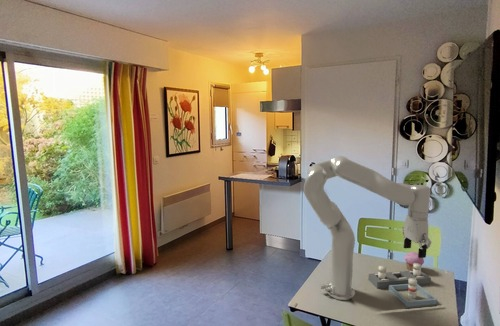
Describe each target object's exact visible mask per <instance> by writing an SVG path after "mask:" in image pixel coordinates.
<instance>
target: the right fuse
mask: <svg viewBox="0 0 500 326" xmlns="http://www.w3.org/2000/svg"><path fill="white" fill-rule="evenodd" d="M421 271H422V266H421V264H418V263H414V264H413V276H415V277H417V276H420V274H421Z"/></svg>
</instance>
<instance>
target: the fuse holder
mask: <svg viewBox="0 0 500 326" xmlns="http://www.w3.org/2000/svg"><path fill="white" fill-rule="evenodd" d="M367 276H368V280H367V281H369V282H370V283H371V285H373V286H374V287H375V288H376V289H385V288H388V289H389V285H400V284H408V280H409V278H413V279H416V280H417V284H418V285H419V286H423V285H431V281H432V280H431V279H432V278H431V277H430V276H429V275H427V274H426V273H424V272H423V271H422V270H421V274H420V276H417V277H415V276H413V271H411V270H402V271H390V272H387V271H386V278H385V279H381V280H380V279H379V278H378V272H377V273H368V275H367Z"/></svg>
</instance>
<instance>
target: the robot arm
mask: <svg viewBox="0 0 500 326" xmlns="http://www.w3.org/2000/svg"><path fill="white" fill-rule="evenodd" d="M335 177H338V178H341V179H342V180H345V181H347V182H349V183H352V184H354V185H357V186H359V187H361V188H363V189H365V190H367V191H369V192H371V193H374V194H376V195H378V196H380V197H383V198H384V199H386V200H389V201H391V202H393V203H396V204H399V205H401V206H408V210H407V215H406V217H405V221H404V226H403V227H402V228H401V229H402V235H403V248H404V249H411V248H412V242H413V243H415V244H418V245H419V246H418V247H419V248H418V252H417V253H418V257H419V258H423V259H425V258H426V257H427V250H428V249H429V248H430V246H431V244H432V240H431V239H430V238H429V220H428V218H429V210H430V198H431V188H430V187H429V186H427V185H423V184H409V183H403V182H395V181H394V180H391V179H389V178H388V177H385V176H384V175H382V174H380V173H379V172H377V171H375V170H374V169H371V168H369V167H366V166H364V165H361V164H359V163H357V162H355V161H352V160H351V159H349V158H348V157H346V156H336V157H333V158H330V159H327V160H324V161H321V162H317V163H315V164H312V165H311V166H310V167H309V168H308V170H307V176H306V179H305V180H304V184H303V193H304V196H305V199H306V200H307V201H308V203H309V205H310V207H311V208H312V210H313V211H314V213H315V215H316V216H317V218H318V219H319V221H320V222H321V223H322V225H324V226H326V227H327V229H328V230H329V233H330V237H331V250H330V272H329V274H330V275H329V277H330V278H329V280H328V281H327V283H326V284H319V290H324V292H326V294H328V295H329V297H331V298H334V299H336V300H339V301H349V300H351V299H352V298H354V296H355V295H356V290H355V289H354V288H353V271H354V270H353V269H354V268H353V267H354V250H355V243H356V242H355V241H356V237H355V233H354V231H353V229H352V226H351V224H350V223H349V221H348V220H347V219H346V217H345V215H344V214H343V212H342V211H341V209H340V208H339V206H338V205H337V204H336V202H334V201H331V199H330V198H329V196H328V194H327V192H326V191H325V184H326V183H327V180H330V179H332V178H335Z"/></svg>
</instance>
